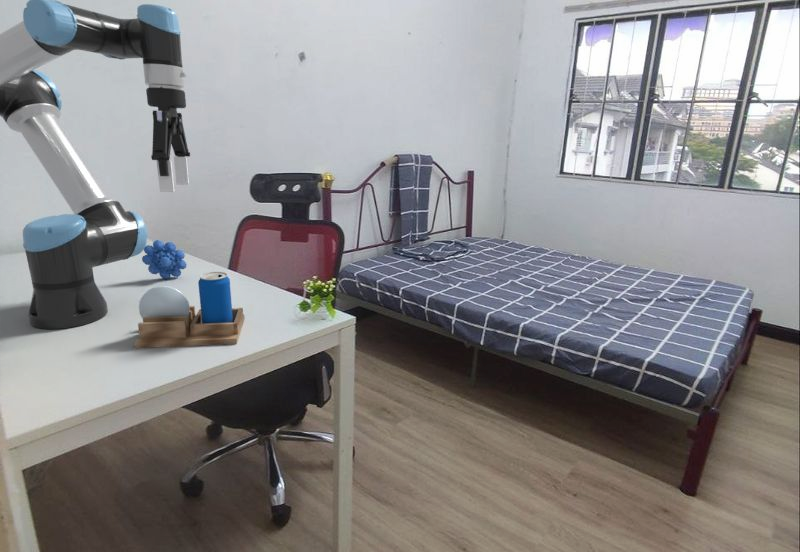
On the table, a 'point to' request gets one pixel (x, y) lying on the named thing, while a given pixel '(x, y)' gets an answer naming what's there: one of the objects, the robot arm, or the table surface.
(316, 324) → the table surface
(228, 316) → the beverage can
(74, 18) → the robot arm
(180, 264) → the blue bumpy lump
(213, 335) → the wooden holder tray
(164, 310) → the pale blue plate
